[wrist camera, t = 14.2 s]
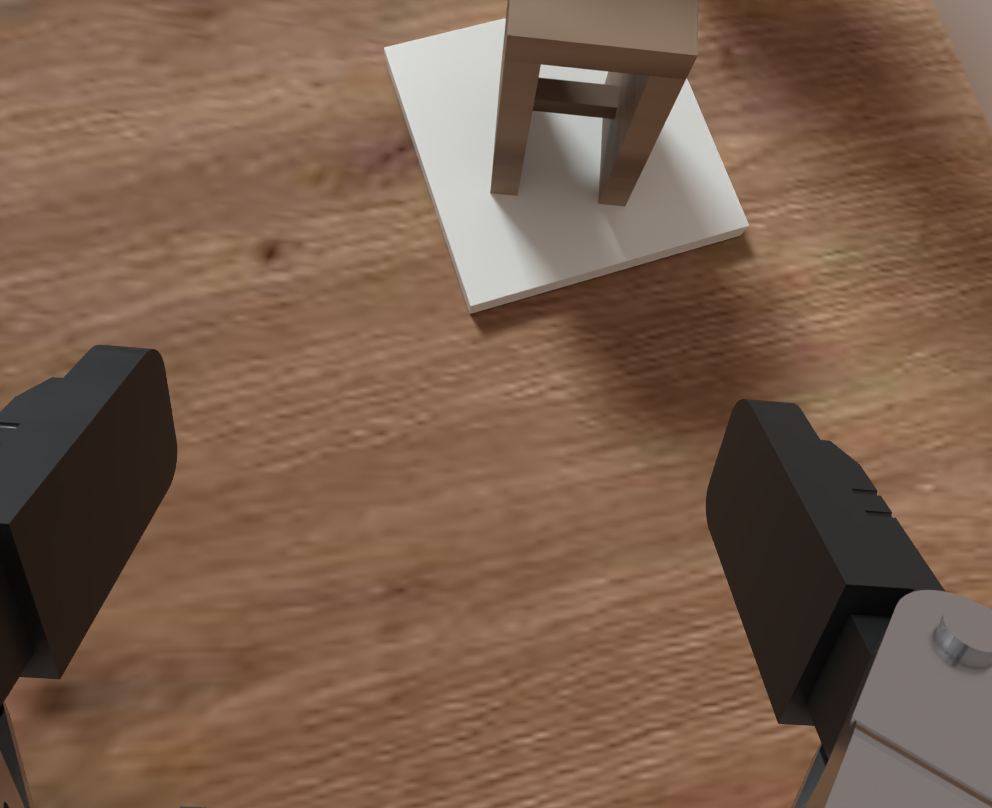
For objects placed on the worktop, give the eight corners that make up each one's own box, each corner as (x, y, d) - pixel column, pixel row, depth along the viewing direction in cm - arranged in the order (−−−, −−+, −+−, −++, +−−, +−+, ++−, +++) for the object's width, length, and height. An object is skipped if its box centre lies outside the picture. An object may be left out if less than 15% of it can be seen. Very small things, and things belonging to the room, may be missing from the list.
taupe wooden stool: (625, 206, 33) (697, 55, 24) (490, 193, 33) (506, 34, 23) (630, 87, 35) (700, -103, 25) (500, 73, 34) (520, -123, 25)
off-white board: (469, 314, 33) (470, 306, 32) (385, 62, 35) (383, 47, 34) (740, 235, 35) (749, 225, 34) (641, -1, 37) (647, -16, 36)
